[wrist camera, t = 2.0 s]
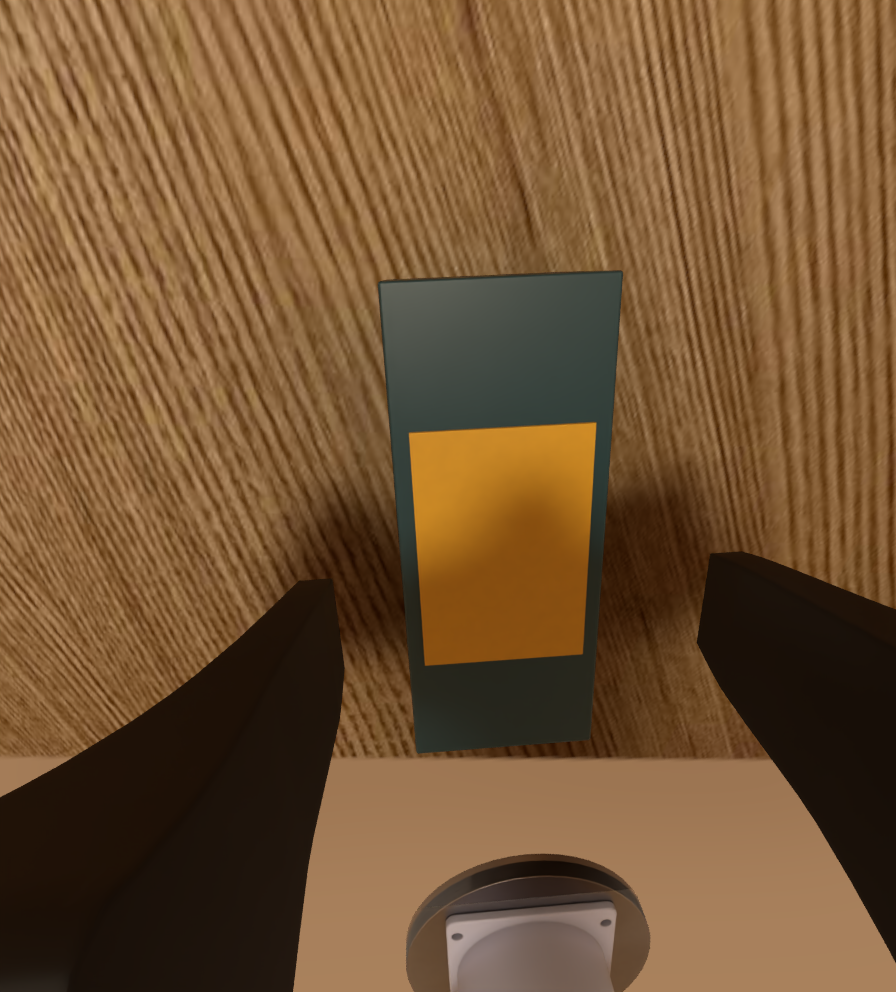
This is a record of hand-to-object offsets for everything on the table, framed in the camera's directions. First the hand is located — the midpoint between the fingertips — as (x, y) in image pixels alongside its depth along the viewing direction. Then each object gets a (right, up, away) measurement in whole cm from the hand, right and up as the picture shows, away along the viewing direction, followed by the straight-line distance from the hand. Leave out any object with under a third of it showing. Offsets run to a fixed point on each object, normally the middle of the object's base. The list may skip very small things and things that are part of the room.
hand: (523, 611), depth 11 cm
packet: (0, +2, +6) cm, 7 cm away
